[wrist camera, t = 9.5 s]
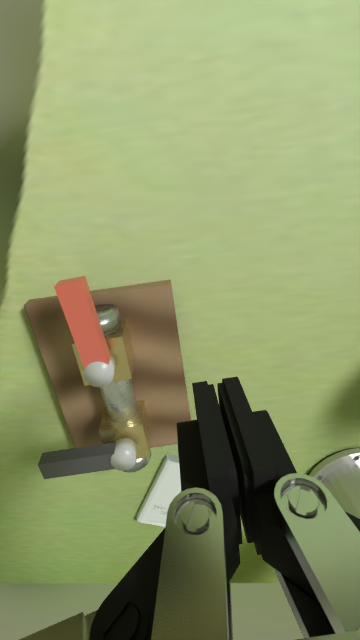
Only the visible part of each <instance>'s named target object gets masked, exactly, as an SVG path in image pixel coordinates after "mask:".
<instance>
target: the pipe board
mask: <svg viewBox="0 0 360 640" xmlns="http://www.w3.org/2000/svg"><path fill="white" fill-rule="evenodd" d="M90 293H91V296H92V299H93V302H94V306H95V305H100V304H113V305H116V306H118V309H119V313H120V317H121V319H125V318H127V323H128V327H129V332H130V337H131V341H132V346H133V350H134V355H135V359H134V367H133V374H132V379H131V380H132V385H133V389H134V393H135V398H136V401H138V400H144V401H145V406H146V410H147V415H148V419H149V424H150V428H151V437H150V448H151V447H158V446H165V445H172V444H178V438H177V423H178V422H185V421H191V418H190V412H189V405H188V398H187V391H186V384H185V377H184V370H183V363H182V357H181V350H180V343H179V336H178V329H177V322H176V315H175V308H174V302H173V295H172V288H171V281H170V280H165V281H158V282H151V283H144V284H137V285H130V286H123V287H116V288H109V289H102V290H95V291H90ZM24 307H25V310H26V313H27V315H28V318H29V321H30V324H31V326H32V329H33V332H34V335H35V337H36V340H37V343H38V346H39V348H40V351H41V354H42V357H43V360H44V362H45V365H46V368H47V371H48V373H49V376H50V379H51V382H52V384H53V387H54V390H55V393H56V396H57V398H58V401H59V404H60V407H61V409H62V412H63V415H64V418H65V420H66V423H67V426H68V429H69V431H70V434H71V437H72V440H73V443H74V445H75V448H80V447H87V446H94V445H100V444H102V440H101V437H100V434H99V429H100V424H101V420H102V416H103V412H104V408H105V404H104V400H103V397H102V393H101V390H100V387H94V386H92V385H86V386H84V382H83V379H82V376H81V373H80V370H79V366H78V363H77V360H76V357H75V353H74V350H73V347H72V342H73V341H74V339H73V336H72V334H71V331H70V328H69V325H68V323H67V320H66V317H65V315H64V312H63V309H62V307H61V304H60V301H59V299H58V296H53V297H46V298H39V299H32V300H29V301H28V302H27V303H26V304H25V305H24Z"/></svg>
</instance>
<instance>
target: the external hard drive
mask: <svg viewBox="0 0 360 640" xmlns="http://www.w3.org/2000/svg"><path fill="white" fill-rule="evenodd" d="M180 492H181V481H180V467H179V457H177V456H173V455H169V454H167V455H166V457H165V459H164V461H163V463H162V465H161V467H160V469H159V471H158V473H157V475H156V477H155V479H154V481H153V483H152V485H151V487H150V489H149V491H148V494H147V496H146V498H145V500H144V502H143V504H142V506H141V508H140V510H139V512H138V514H137V521H138V522H140V523H146V524H152V525H158V526H163V527H166V519H167V512H168V509H169V505H170V503H171V502H172V500H173V499H174V497H175V496H177V495H178V494H179V493H180Z"/></svg>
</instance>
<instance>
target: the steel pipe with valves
mask: <svg viewBox="0 0 360 640" xmlns="http://www.w3.org/2000/svg"><path fill="white" fill-rule="evenodd" d="M95 309H96V312H97V315H98V318H99V321H100V324H101V327H102V330H103V333H104V337H105V340H106V343H107V346H108V349H109V352H110V355H111V356H113V358H114V359H115V361H116V367H115V372H114V376H113V380H112V382H111V383H110V384H109V385H107V386H105V387H100V390H101V393H102V397H103V400H104V404H105V408H104V412H103V416H102V420H101V424H100V429H99V434H100V437H101V440H102V444H107V443H114V442H115V441H117V440H118V439H121V438H128V439H131V440H133V441H134V442H135V443H136V445H137V450H136V462H135V465H134V466H133V467H132V468H131V469H129V470H125V471H124V472H135V471H138V470H140V469H142V468H143V467H145V466H146V465H147V464H148V462H149V461H150V458H151V450H150V437H151V428H150V424H149V419H148V415H147V410H146V406H145V401H144V400H138V401H136V398H135V393H134V389H133V385H132V380H131V379H132V374H133V367H134V359H135V355H134V350H133V346H132V341H131V337H130V332H129V327H128V323H127V318H125V319H121V317H120V313H119V309H118V306H116V305H113V304H100V305H95ZM72 347H73V350H74V353H75V357H76V360H77V363H78V366H79V370H80V373H81V376H82V379H83V382H84V386H86V385H90V384H88V383H87V382H86V380H85V378H84V371H85V369H84V366H83V363H82V361H81V358H80V355H79V352H78V350H77V347H76V344H75V342H74V341H73V342H72Z"/></svg>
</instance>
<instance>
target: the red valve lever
mask: <svg viewBox="0 0 360 640" xmlns="http://www.w3.org/2000/svg"><path fill="white" fill-rule="evenodd" d="M54 288H55V290H56V293H57V296H58V299H59V301H60V304H61V307H62V309H63V312H64V315H65V317H66V320H67V323H68V325H69V328H70V331H71V334H72V336H73V339H74V342H75V344H76V347H77V350H78V352H79V355H80V358H81V361H82V363H83V366H84V369H85V371H84V378H85V380H86V382H87V383H88V384H90V385H92V386H94V387H105V386H107V385H109V384H110V383H111V382H112V380H113V376H114V372H115V367H116V361H115V359H114V358H113V356H111V355H110V352H109V349H108V346H107V343H106V340H105V337H104V333H103V330H102V327H101V324H100V321H99V318H98V315H97V312H96V309H95V306H94V302H93V299H92V296H91V293H90V290H89V287H88V284H87V281H86V278H85V276H82V277H77V278H72V279H67V280H62V281H59V282H58V283H57V284H56V285H55V286H54Z"/></svg>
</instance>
